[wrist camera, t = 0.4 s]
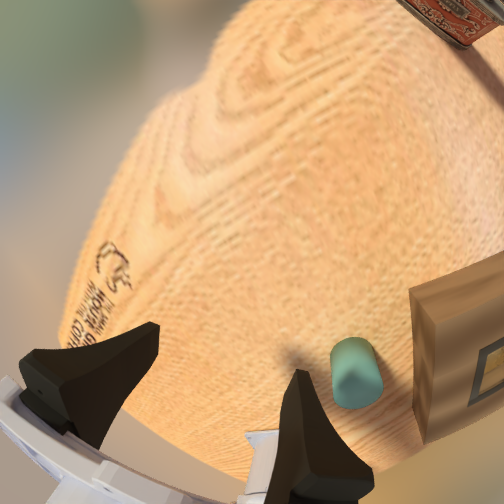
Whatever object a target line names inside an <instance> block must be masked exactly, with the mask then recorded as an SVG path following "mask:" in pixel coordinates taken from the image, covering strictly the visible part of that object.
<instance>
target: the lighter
mask: <svg viewBox="0 0 504 504" xmlns="http://www.w3.org/2000/svg"><path fill="white" fill-rule="evenodd" d="M396 1H397V2H398V3H399V4H400V5H402V6H403V7H404V8H405V9H406V10H408V11H409V12H410V13H411V14H412V15H413V16H415V17H416V18H417V19H418V20H420V21H421V22H422V23H423V24H425V25H426V26H427V27H428V28H430V29H431V30H432V31H434V32H435V33H436V34H438V35H439V36H440V37H442V38H443V39H444V40H446V41H447V42H449V43H450V44H452V45H453V46H454V47H456V48H457V49H459V50H466V49H468V48H469V47H470V46H471V45H472V43H473V42H474V41H476V40H477V39H479V38H480V37H482V36H484V35H485V34H487V33H488V32H490V31H491V30H493V29H494V28H496V27H498V26H499V25H501V26H502V25H504V5H503V4H504V0H396ZM500 1H501V2H502V3H503V4H502V3H501V2H500Z"/></svg>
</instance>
